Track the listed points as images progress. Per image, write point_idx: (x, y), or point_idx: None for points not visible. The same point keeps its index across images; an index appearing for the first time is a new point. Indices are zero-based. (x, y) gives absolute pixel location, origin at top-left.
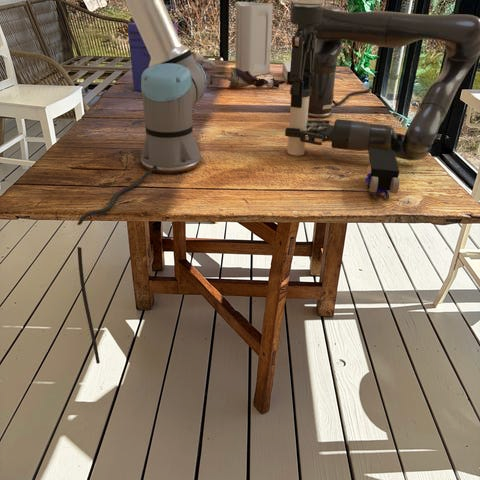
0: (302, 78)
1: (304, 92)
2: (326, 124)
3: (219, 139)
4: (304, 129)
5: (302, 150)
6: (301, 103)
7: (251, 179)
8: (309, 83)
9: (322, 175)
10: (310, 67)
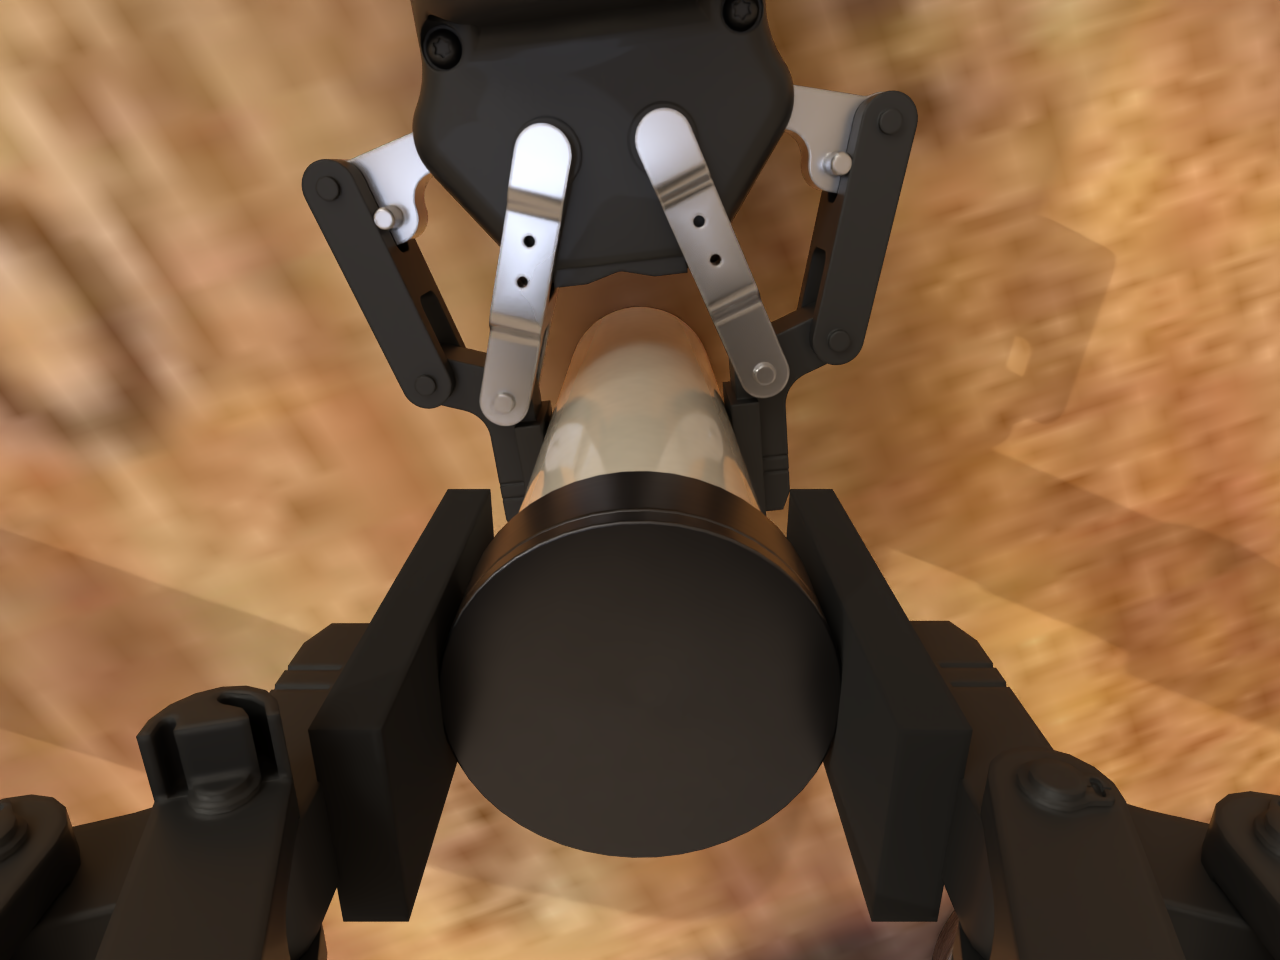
0: (1073, 795)
1: (800, 572)
2: (557, 135)
3: (622, 894)
4: (751, 350)
5: (673, 321)
6: (825, 514)
7: (1255, 495)
8: (392, 636)
9: (1067, 12)
10: (221, 931)
